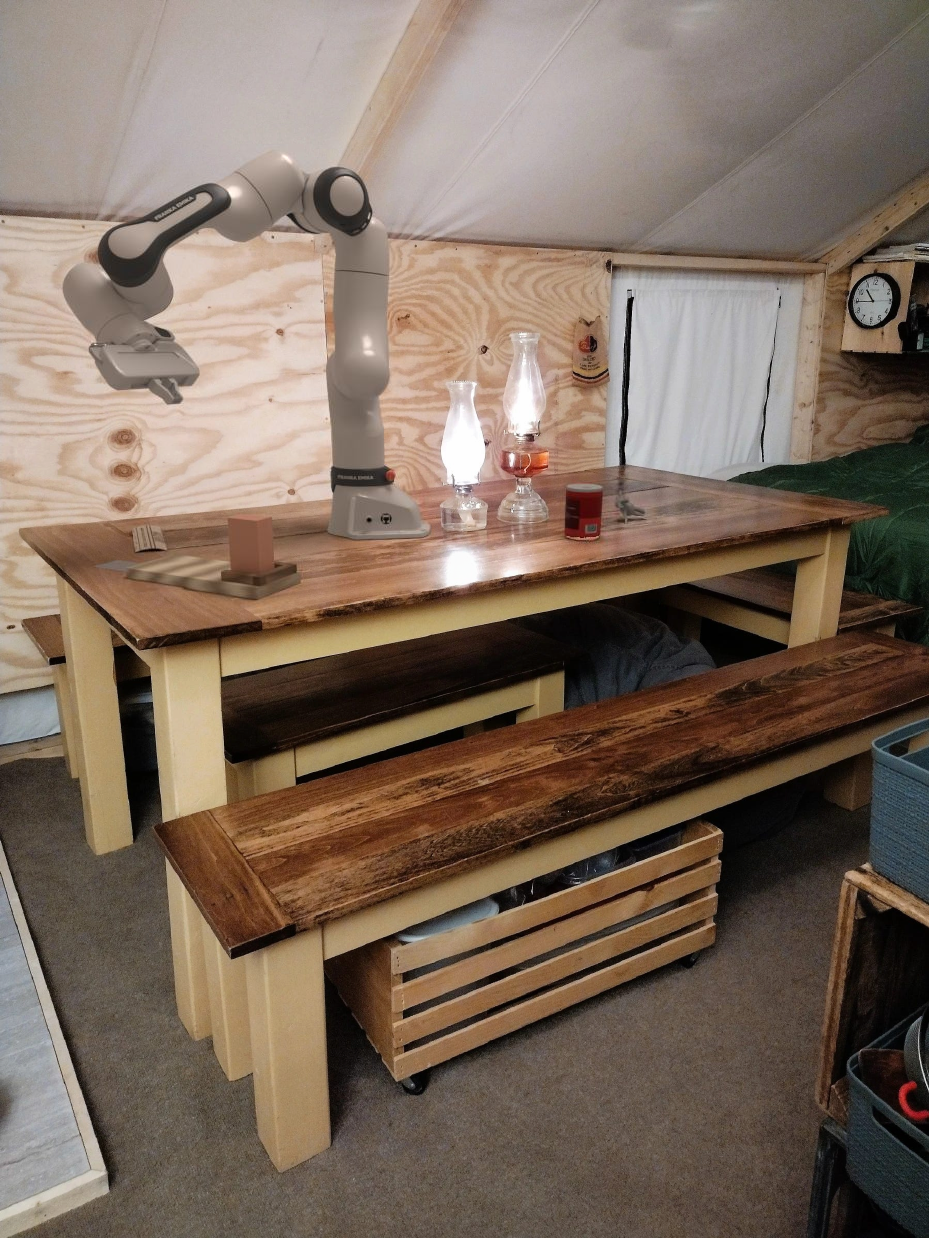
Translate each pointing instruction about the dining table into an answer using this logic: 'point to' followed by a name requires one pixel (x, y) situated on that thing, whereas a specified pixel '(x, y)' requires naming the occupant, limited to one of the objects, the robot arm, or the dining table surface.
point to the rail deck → (215, 576)
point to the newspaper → (148, 538)
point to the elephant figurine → (628, 507)
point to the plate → (117, 565)
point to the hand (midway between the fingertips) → (176, 402)
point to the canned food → (583, 510)
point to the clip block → (251, 543)
